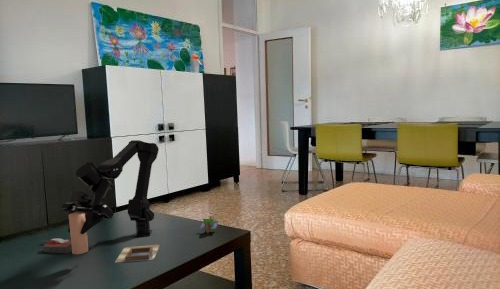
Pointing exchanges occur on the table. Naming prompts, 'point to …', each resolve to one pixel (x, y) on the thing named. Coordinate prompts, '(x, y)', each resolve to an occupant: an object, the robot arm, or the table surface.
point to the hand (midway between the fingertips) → (75, 233)
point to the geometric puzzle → (209, 225)
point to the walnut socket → (139, 257)
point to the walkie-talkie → (57, 246)
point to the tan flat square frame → (126, 250)
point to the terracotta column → (78, 233)
